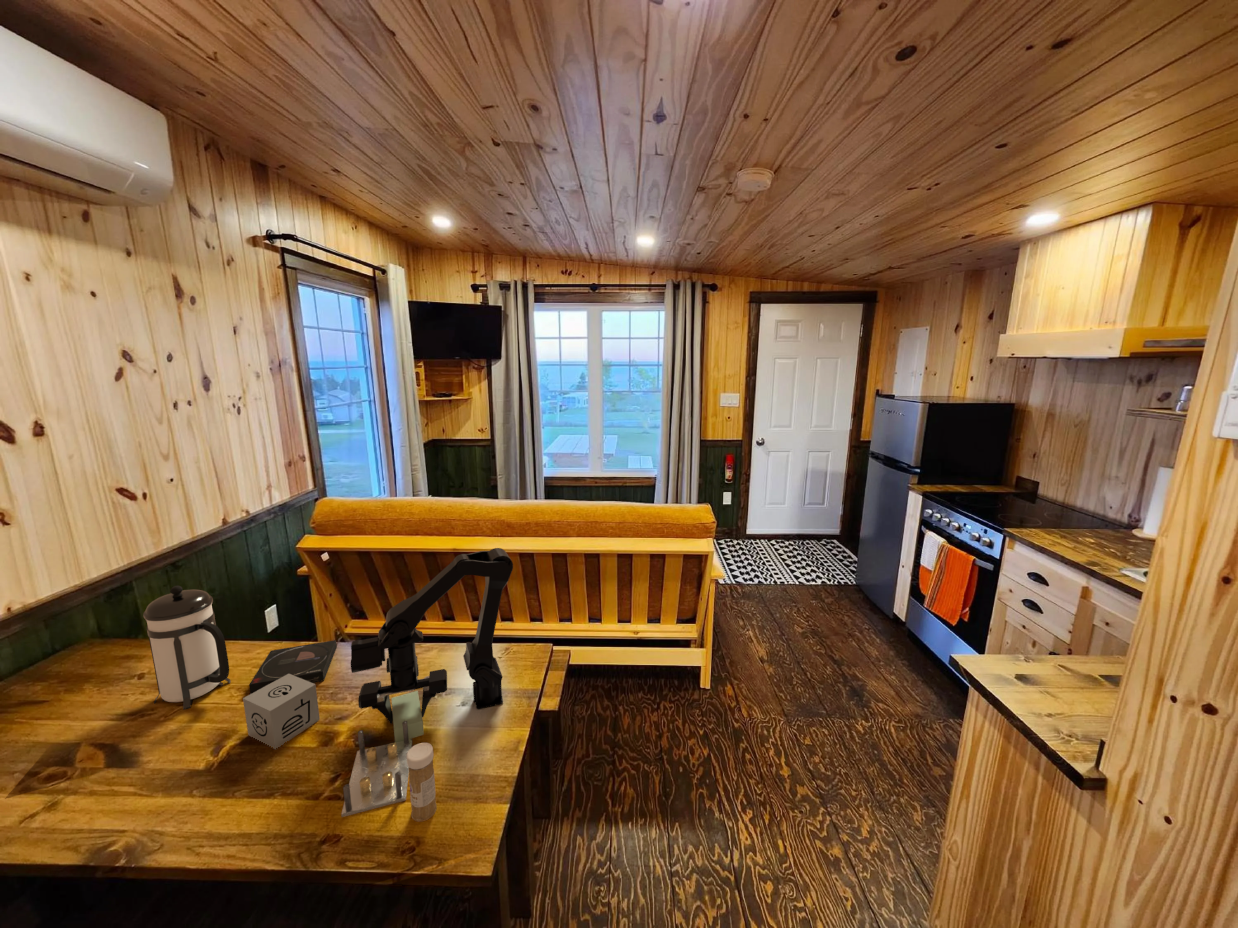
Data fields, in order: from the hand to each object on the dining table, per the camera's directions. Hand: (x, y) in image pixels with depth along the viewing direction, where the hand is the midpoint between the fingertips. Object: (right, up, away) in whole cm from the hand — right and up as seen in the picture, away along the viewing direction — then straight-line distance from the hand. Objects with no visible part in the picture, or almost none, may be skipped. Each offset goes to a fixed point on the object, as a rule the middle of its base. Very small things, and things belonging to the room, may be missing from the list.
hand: (407, 719), depth 112 cm
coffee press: (-59, +1, +10) cm, 60 cm away
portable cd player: (-40, +2, +20) cm, 45 cm away
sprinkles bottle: (+14, -5, -23) cm, 27 cm away
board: (0, -1, 0) cm, 1 cm away
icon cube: (-28, -2, -2) cm, 28 cm away
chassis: (+1, -4, -15) cm, 16 cm away
